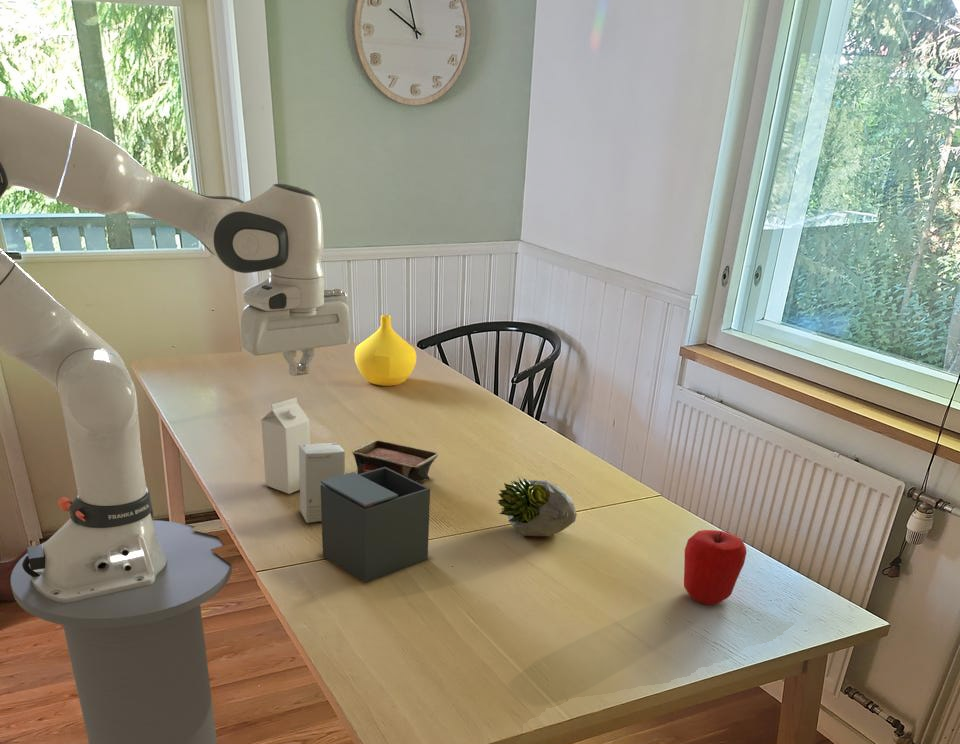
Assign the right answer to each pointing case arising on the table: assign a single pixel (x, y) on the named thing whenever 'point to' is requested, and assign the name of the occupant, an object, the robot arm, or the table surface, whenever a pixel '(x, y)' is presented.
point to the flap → (359, 489)
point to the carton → (377, 527)
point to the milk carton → (284, 444)
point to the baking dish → (394, 459)
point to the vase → (385, 356)
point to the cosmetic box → (317, 475)
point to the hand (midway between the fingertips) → (299, 374)
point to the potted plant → (537, 507)
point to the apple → (712, 565)
